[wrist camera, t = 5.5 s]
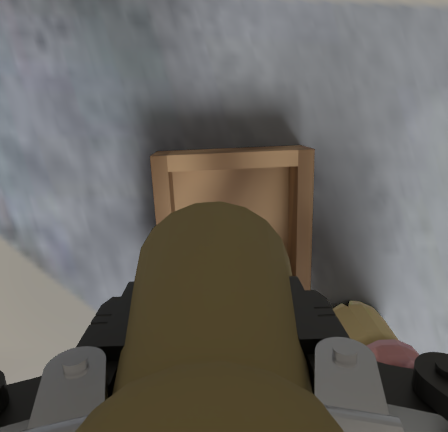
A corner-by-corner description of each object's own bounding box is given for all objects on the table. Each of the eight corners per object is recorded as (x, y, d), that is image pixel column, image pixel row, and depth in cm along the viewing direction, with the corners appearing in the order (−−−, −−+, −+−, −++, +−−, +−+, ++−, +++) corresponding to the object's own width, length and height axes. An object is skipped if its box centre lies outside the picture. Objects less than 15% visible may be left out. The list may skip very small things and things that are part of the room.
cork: (205, 167, 13) (156, 395, 2) (322, 268, 14) (645, 724, 4) (105, 283, 14) (-232, 792, 3) (221, 368, 15) (234, 944, 5)
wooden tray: (300, 145, 25) (314, 149, 22) (298, 276, 28) (310, 296, 25) (157, 151, 25) (149, 156, 21) (168, 283, 27) (163, 305, 24)
